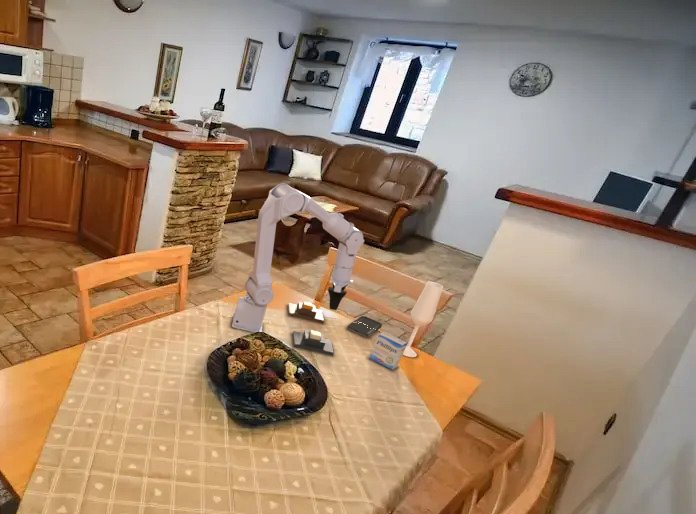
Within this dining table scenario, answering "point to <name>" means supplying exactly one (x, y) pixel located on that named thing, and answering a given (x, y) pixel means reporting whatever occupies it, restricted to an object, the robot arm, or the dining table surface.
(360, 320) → the phone
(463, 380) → the dining table surface
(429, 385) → the dining table surface
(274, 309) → the dining table surface
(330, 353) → the grey stepped holder
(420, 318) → the champagne flute
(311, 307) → the key back
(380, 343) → the medicine box
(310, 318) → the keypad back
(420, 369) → the dining table surface
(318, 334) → the key
